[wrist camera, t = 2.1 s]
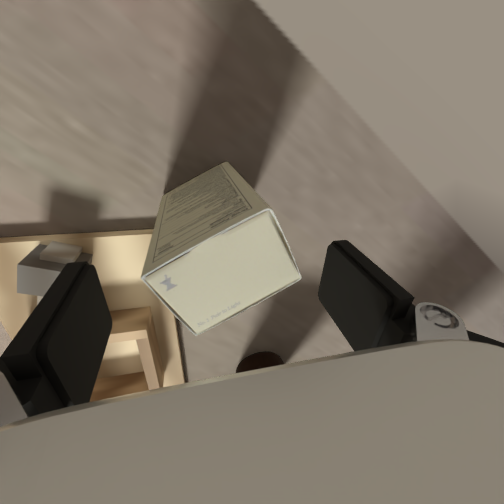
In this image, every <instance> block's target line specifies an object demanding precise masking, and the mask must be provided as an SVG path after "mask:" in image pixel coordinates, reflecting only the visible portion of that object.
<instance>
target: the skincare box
mask: <svg viewBox="0 0 504 504" xmlns="http://www.w3.org/2000/svg"><path fill="white" fill-rule="evenodd" d="M301 278H302V277H301V274H300V271H299V269H298V267H297V264H296V262H295V259H294V257H293V254H292V252H291V249H290V247H289V245H288V242H287V240H286V238H285V235H284V233H283V231H282V229H281V226H280V224H279V222H278V220H277V218H276V215H275V213H274V211H273V210H272V208H271V207H270V206H269V205H268V204H267V203H266V202H265V201H264V200H263V199H262V198H261V197H260V196H259V195H258V194H257V193H256V192H255V191H254V189H253V188H252V187H251V186H250V185H249V184H248V183H247V182H246V181H245V180H244V179H243V178H242V177H241V176H240V174H239V173H238V172H237V171H236V170H235V169H234V168H233V167H232V166H231V165H230V164H229V163H228V162H224V163H222V164H220V165H218V166H216V167H214V168H212V169H210V170H208V171H206V172H204V173H203V174H201V175H199V176H197V177H195V178H193V179H191V180H190V181H188V182H186V183H184V184H182V185H181V186H179V187H177V188H175V189H173V190H172V191H170V192H168V193H167V194H165V195H163V196H162V200H161V203H160V207H159V211H158V215H157V218H156V222H155V226H154V230H153V233H152V237H151V240H150V245H149V248H148V252H147V256H146V260H145V263H144V267H143V270H142V274H141V279H142V281H143V282H144V283H145V284H146V285H147V286H148V287H149V288H150V289H151V291H152V292H153V293H154V294H155V295H156V296H157V297H158V298H159V299H160V300H161V301H162V303H163V304H164V305H165V306H166V307H167V308H168V309H169V310H170V311H171V312H172V313H173V314H174V315H175V317H176V318H177V319H178V320H179V321H180V322H181V323H182V324H183V325H184V326H185V327H186V328H187V329H188V330H189V331H191V333H192V334H194V335H199V334H201V333H203V332H205V331H207V330H209V329H211V328H213V327H215V326H217V325H219V324H221V323H223V322H225V321H227V320H229V319H230V318H232V317H234V316H236V315H238V314H240V313H242V312H244V311H246V310H247V309H249V308H251V307H252V306H255V305H257V304H258V303H260V302H262V301H264V300H265V299H267V298H269V297H271V296H273V295H275V294H276V293H278V292H280V291H282V290H284V289H285V288H287V287H289V286H291V285H292V284H294V283H296V282H298V281H299V280H301Z"/></svg>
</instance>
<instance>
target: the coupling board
mask: <svg viewBox="0 0 504 504" xmlns="http://www.w3.org/2000/svg"><path fill="white" fill-rule="evenodd" d="M153 230H154V229H145V230H127V231H109V232H92V233H74V234H56V235H38V236H20V237H2V238H0V321H1V323H2V324H3V326H4V328H5V329H6V331H7V333H8V334H9V336H10V338H11V339H12V340H13V338H14V337H15V336H16V334H17V333H18V331H19V330H20V329H21V327H22V326H23V324H24V323H25V321H26V320H27V319H28V317H29V316H30V314H31V313H32V312H33V310H34V309H35V307H36V306H37V305H38V304H39V302H40V301H41V299H42V298H43V296H44V295H45V294H46V292H47V291H48V289H49V288H50V287H51V285H52V284H53V282H54V281H55V279H56V278H57V277H58V275H59V274H60V272H61V271H62V269H63V268H64V267H65V265H66V264H67V263H70V262H82V261H87V262H88V263H89V265H94V266H95V268H96V271H97V274H98V277H99V280H100V283H101V287H102V290H103V293H104V296H105V299H106V302H107V305H108V308H109V311H110V314H111V317H112V330H111V333H110V336H109V340H108V343H107V346H106V349H105V353H104V356H103V359H102V362H101V366H100V369H99V372H98V375H97V379H96V382H95V385H94V388H93V392H92V395H91V398H90V402H93V401H98V400H103V399H107V398H112V397H117V396H122V395H127V394H131V393H136V392H141V391H147V390H152V389H157V388H162V387H167V386H173V385H178V384H183V383H185V377H184V370H183V364H182V357H181V350H180V343H179V337H178V330H177V323H176V317H175V315H174V314H173V313H172V312H171V311H170V310H169V309H168V308H167V307H166V306H165V305H164V304H163V303H162V301H161V300H160V299H159V298H158V297H157V296H156V295H155V294H154V293H153V292H152V291H151V289H150V288H149V287H148V286H147V285H146V284H145V283H144V282H143V281H142V279H141V274H142V270H143V267H144V263H145V260H146V256H147V252H148V248H149V245H150V240H151V237H152V233H153Z"/></svg>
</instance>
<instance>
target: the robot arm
mask: <svg viewBox="0 0 504 504" xmlns="http://www.w3.org/2000/svg"><path fill="white" fill-rule="evenodd" d="M318 297H319V300H320V301H321V303H322V304H323V306H324V307H325V309H326V310H327V312H328V313H329V315H330V316H331V318H332V319H333V320H334V322H335V323H336V325H337V326H338V328H339V329H340V331H341V332H342V334H343V335H344V337H345V338H346V339H347V341H348V342H349V344H350V345H351V347H352V348H353V350H354V352H349V353H343V354H338V355H332V356H327V357H321V358H316V359H310V360H305V361H299V362H294V363H288V364H283V365H278V366H272V367H267V368H262V369H256V370H251V371H246V372H240V373H235V374H230V375H224V376H219V377H214V378H209V379H204V380H198V381H193V382H188V383H183V384H178V385H173V386H167V387H162V388H157V389H152V390H147V391H141V392H136V393H131V394H127V395H122V396H117V397H112V398H107V399H103V400H98V401H93V402H90V398H91V395H92V392H93V388H94V385H95V382H96V379H97V375H98V372H99V369H100V366H101V362H102V359H103V356H104V353H105V349H106V346H107V343H108V340H109V336H110V333H111V330H112V317H111V314H110V311H109V308H108V305H107V302H106V299H105V296H104V293H103V290H102V287H101V283H100V280H99V277H98V274H97V271H96V268H95V266H94V265H89V263H88V262H87V261H82V262H70V263H67V264H66V265H65V267H64V268H63V269H62V271H61V272H60V274H59V275H58V277H57V278H56V279H55V281H54V282H53V284H52V285H51V287H50V288H49V289H48V291H47V292H46V294H45V295H44V296H43V298H42V299H41V301H40V302H39V304H38V305H37V306H36V307H35V309H34V310H33V312H32V313H31V314H30V316H29V317H28V319H27V320H26V321H25V323H24V324H23V326H22V327H21V329H20V330H19V331H18V333H17V334H16V336H15V337H14V338H13V340H12V341H11V343H10V344H9V346H8V347H7V348H6V350H5V351H4V353H3V354H2V356H1V357H0V504H504V343H502V342H499V341H496V340H493V339H490V338H488V337H485V336H482V335H479V334H476V333H473V332H470V331H468V330H466V327H465V324H464V322H463V320H462V319H461V318H460V317H459V316H458V315H457V314H456V313H454V312H453V311H452V310H450V309H448V308H446V307H444V306H441V305H439V304H435V303H430V302H422V303H419V304H417V305H416V307H415V306H414V305H413V304H412V301H413V299H414V297H413V296H412V295H411V294H410V293H408V292H407V291H406V290H405V289H404V288H403V287H401V286H400V285H399V284H398V283H397V282H396V281H394V280H393V279H392V278H391V277H390V276H388V275H387V274H386V273H385V272H384V271H383V270H381V269H380V268H379V267H378V266H377V265H376V264H374V263H373V262H372V261H371V260H370V259H369V258H367V257H366V256H365V255H364V254H363V253H362V252H360V251H359V250H358V249H357V248H356V247H355V246H353V245H352V244H351V243H350V242H349V241H347V240H340V241H333V242H332V243H331V244H330V245H329V246H328V249H327V253H326V258H325V263H324V267H323V272H322V277H321V282H320V286H319V291H318Z"/></svg>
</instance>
